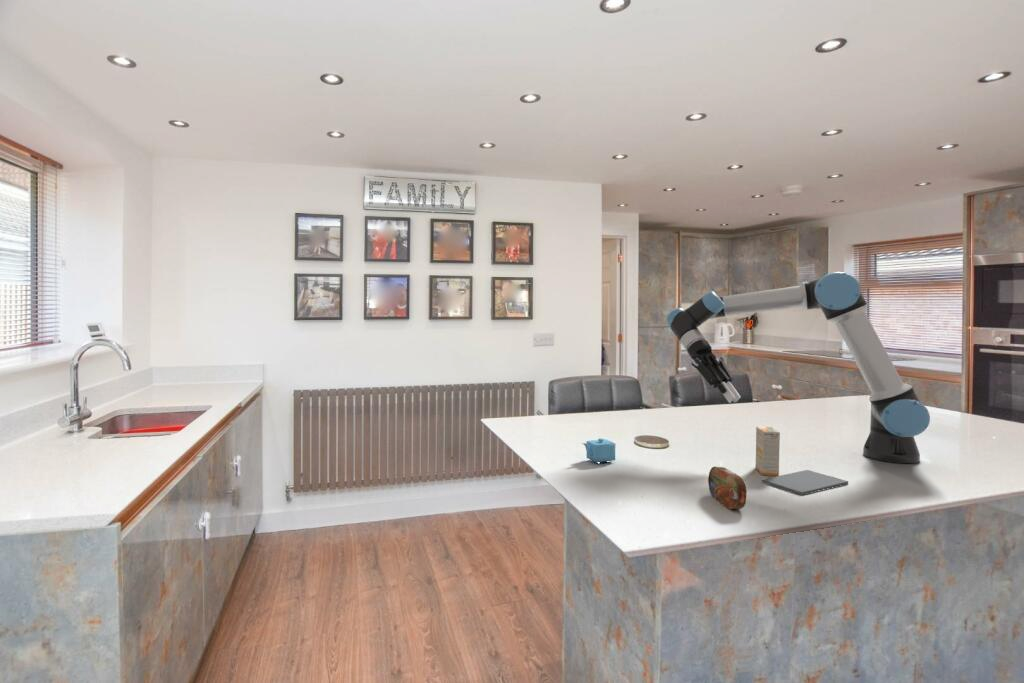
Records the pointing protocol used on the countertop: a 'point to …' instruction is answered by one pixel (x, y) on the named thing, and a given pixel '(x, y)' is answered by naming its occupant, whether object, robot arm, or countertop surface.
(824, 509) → the countertop surface
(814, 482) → the mat
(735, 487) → the multicoloured flat oval slab
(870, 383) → the robot arm
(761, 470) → the supplement box
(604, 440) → the teapot
